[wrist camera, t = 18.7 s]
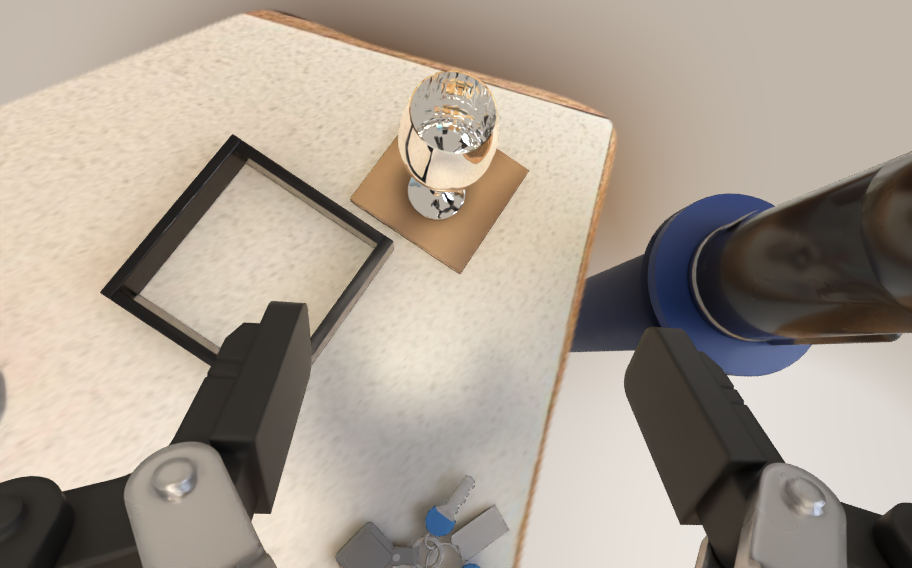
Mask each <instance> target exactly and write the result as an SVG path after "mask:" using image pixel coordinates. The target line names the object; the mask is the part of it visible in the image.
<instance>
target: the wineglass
mask: <svg viewBox="0 0 912 568" xmlns="http://www.w3.org/2000/svg"><path fill="white" fill-rule="evenodd" d="M498 135H499V122H498V111H497V105H496V102H495V99H494V97H493V95H492V93H491V92H490V90H489V89H488V88H487V87H486V85H485V84H484V83H482V82H481V81H480V80H479V79H477V78H475V77H474V76H472V75H470V74H467V73H464V72H459V71H442V72H437V73H435V74H432V75H430V76H428V77H426V78H425V79H424V80H423V81H422V82H420V83H419V84H418V86H417V87H416V88H415V90H414V91H413V93H412V95H411V96H410V98H409V100H408V102H407V104H406V106H405V109H404V111H403V114H402V117H401V121H400V125H399V132H398V147H399V152H400V156H401V159H402V161H403V164H404V166H405V168H406V170H407V171H408V173H409V174H410V175H411V176H412V177H411V179H410V181H409V184H408V198H409V201H410V203H411V205H412V207H413V208H414V209H415V211H417V212H418V213H419V214H420V215H422V216H424V217H426V218H429V219H433V220H442V219H447V218H449V217H452V216H453V215H454V214H456V213H457V212H458V211H459V210H460V209H461V207H462V205H463V203H464V201H465V196H466V190H465V189H466V188H468V187H470V186H472V185H473V184H475V183H476V182H477V181H478V180H479V179H481V177H482V176H483V175H484V174H485V173H486V172H487V170H488V169H489V167H490V165H491V163H492V161H493V158H494V156H495V152H496V149H497V144H498Z"/></svg>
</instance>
